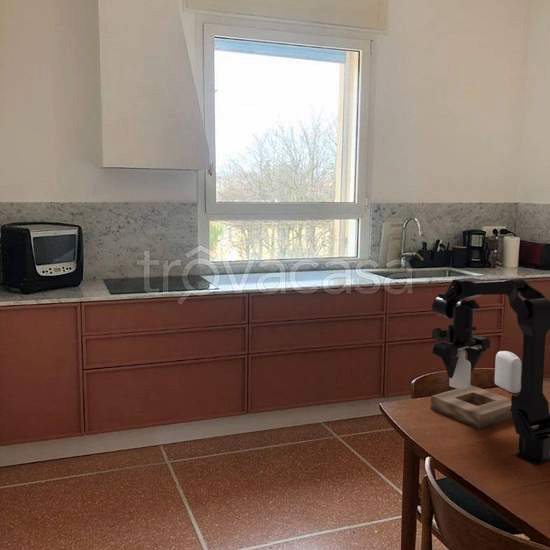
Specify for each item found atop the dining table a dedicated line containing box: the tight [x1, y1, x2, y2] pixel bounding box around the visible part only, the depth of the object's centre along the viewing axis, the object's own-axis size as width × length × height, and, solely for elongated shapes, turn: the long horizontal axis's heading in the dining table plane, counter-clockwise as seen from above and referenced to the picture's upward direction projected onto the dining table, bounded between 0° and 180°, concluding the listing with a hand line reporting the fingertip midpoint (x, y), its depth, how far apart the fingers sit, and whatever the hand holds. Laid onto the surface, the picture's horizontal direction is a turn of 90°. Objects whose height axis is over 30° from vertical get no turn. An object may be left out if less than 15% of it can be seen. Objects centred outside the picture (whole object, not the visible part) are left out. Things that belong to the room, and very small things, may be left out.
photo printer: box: [494, 350, 522, 394], centre depth 198 cm, size 10×4×12 cm, turn 13°
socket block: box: [430, 384, 513, 429], centre depth 178 cm, size 18×18×4 cm
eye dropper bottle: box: [449, 349, 472, 389], centre depth 171 cm, size 4×6×12 cm
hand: (460, 374), depth 172 cm, fingers closed on eye dropper bottle, 8 cm apart
